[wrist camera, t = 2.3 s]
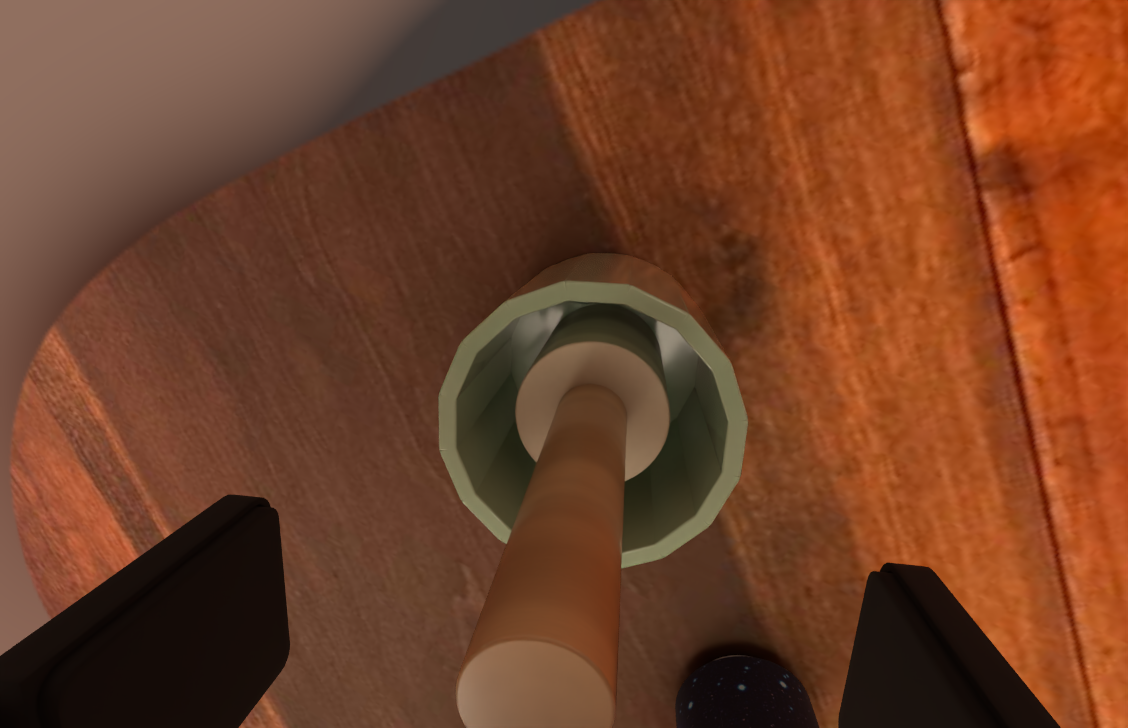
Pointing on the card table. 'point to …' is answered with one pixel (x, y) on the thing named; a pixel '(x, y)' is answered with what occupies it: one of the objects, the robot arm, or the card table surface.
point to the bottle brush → (568, 528)
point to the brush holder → (694, 385)
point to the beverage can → (743, 696)
